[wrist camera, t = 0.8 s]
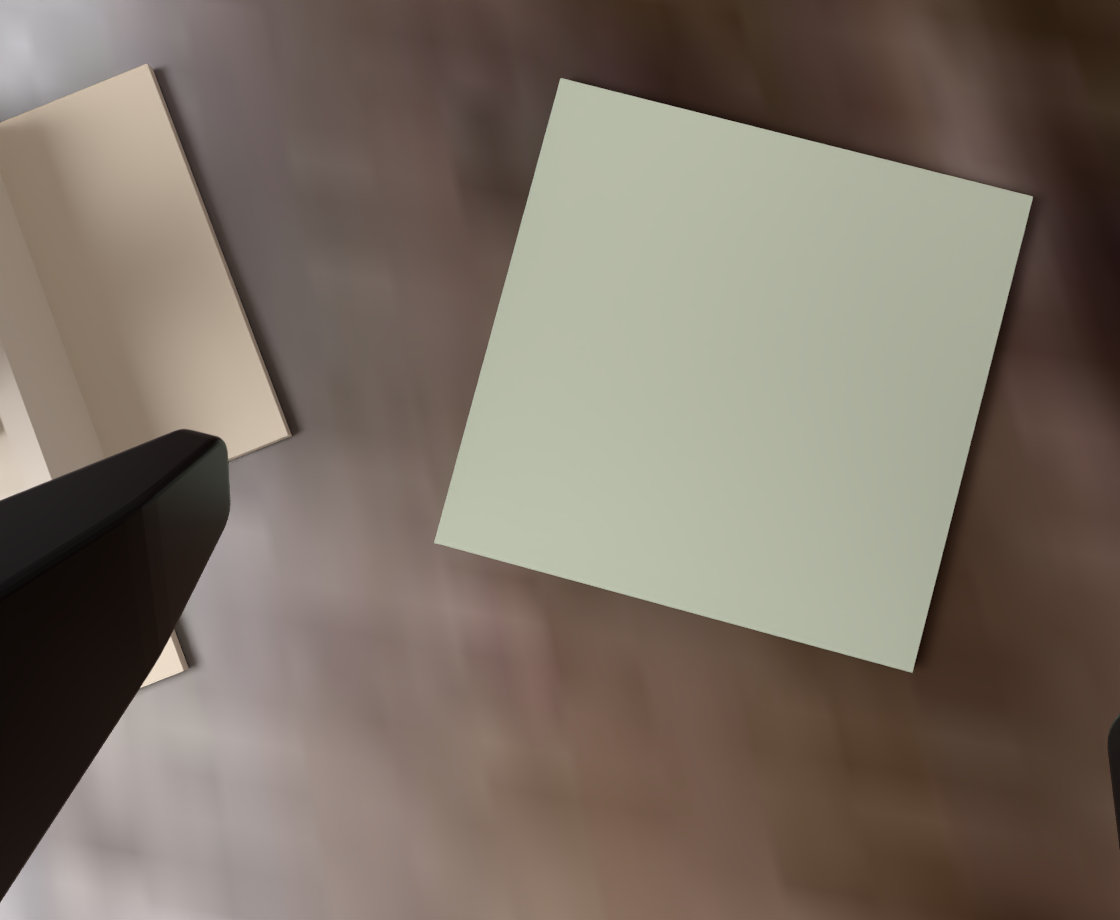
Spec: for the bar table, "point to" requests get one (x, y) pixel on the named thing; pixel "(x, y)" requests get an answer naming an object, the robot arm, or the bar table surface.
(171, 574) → the robot arm
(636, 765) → the bar table surface
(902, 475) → the rubber pad
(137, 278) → the carton
